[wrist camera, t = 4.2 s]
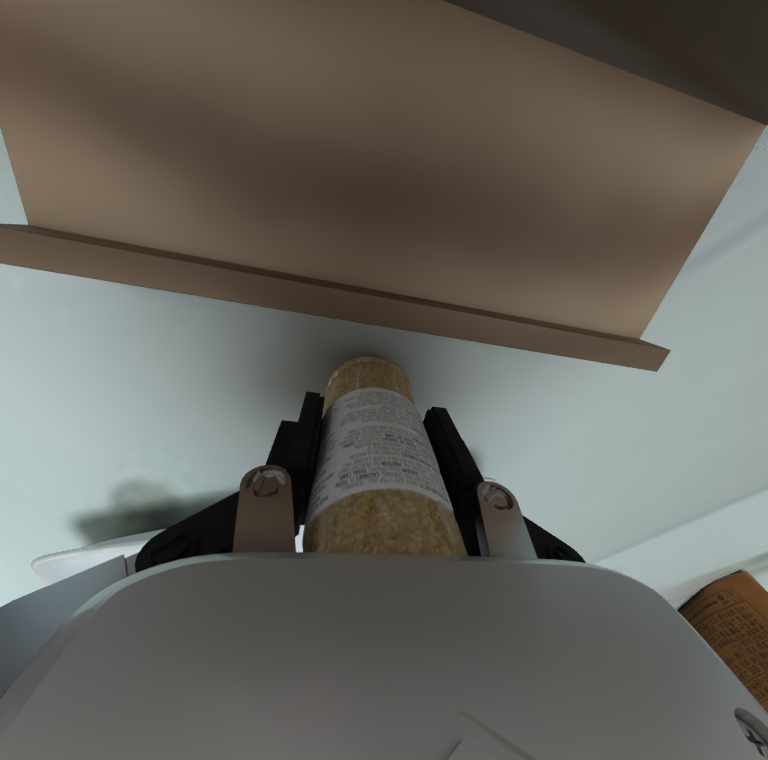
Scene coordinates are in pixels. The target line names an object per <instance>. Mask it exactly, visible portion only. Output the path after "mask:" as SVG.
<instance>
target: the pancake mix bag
mask: <svg viewBox="0 0 768 760" xmlns="http://www.w3.org/2000/svg"><path fill="white" fill-rule="evenodd" d="M678 612H679V613H680V614H681V615H682V616H683V617H684V618H685V619H686V620H687V621H688V623H689V624H690V625H691V626H692V627H693V628H694V629H695V630H696V631H697V632H698V633H699V635H700V636H701V637H702V638H703V639H704V640H705V641H706V642H707V643H708V645H709V646H710V647H711V648H712V649H713V650H714V651H715V652H716V654H717V655H718V656H719V657H720V658H721V659H722V660H723V662H724V663H725V664H726V665H727V666H728V667H729V669H730V670H731V671H732V672H733V673H734V674H735V676H736V677H737V678H738V679H739V680H740V681H741V683H742V684H743V685H744V686H745V687H746V688H747V690H748V691H749V692H750V693H751V694H752V696H753V697H754V698H755V699H756V700H757V701H758V703H759V704H760V705H761V706H762V707H763V708H764V710H765V711H766V712H767V713H768V592H767V591H766V590H765V589H764V588H763V587H762V586H761V585H760V584H759V583H758V582H757V581H756V580H755V579H754V578H753V577H752V576H751V575H750V574H749V573H748V572H747V571H742V572H739V573H735V574H731V575H728V576H726V577H723V578H720V579H718V580H716V581H714V582H712V583H711V584H709V585H707V586H705V587H704V588H703V589H702V590H701V591H700V592H699V593H698V594H696V595H695V596H694V597H693V598H692V599H691V600H690V601H689V602H688V603H687V604H686V605H685V606H683V607H682V608H681V609H680V610H679V611H678Z"/></svg>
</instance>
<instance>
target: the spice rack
mask: <svg viewBox="0 0 768 760" xmlns="http://www.w3.org/2000/svg"><path fill="white" fill-rule="evenodd" d="M766 125H768V0H0V127H1V131H2V134H3V137H4V141H5V144H6V148H7V151H8V155H9V158H10V162H11V165H12V169H13V172H14V176H15V179H16V183H17V186H18V189H19V193H20V196H21V200H22V203H23V207H24V210H25V214H26V217H27V221H28V224H29V225H18V224H0V263H1V264H7V265H13V266H19V267H25V268H31V269H37V270H43V271H50V272H56V273H62V274H68V275H74V276H80V277H86V278H92V279H98V280H104V281H110V282H116V283H122V284H128V285H134V286H140V287H147V288H153V289H159V290H165V291H171V292H177V293H183V294H189V295H195V296H201V297H207V298H213V299H219V300H225V301H231V302H238V303H244V304H250V305H256V306H262V307H268V308H274V309H280V310H286V311H292V312H298V313H304V314H310V315H316V316H322V317H328V318H335V319H341V320H347V321H353V322H359V323H365V324H371V325H377V326H383V327H389V328H395V329H401V330H407V331H413V332H419V333H426V334H432V335H438V336H444V337H450V338H456V339H462V340H468V341H474V342H480V343H486V344H492V345H498V346H504V347H510V348H516V349H523V350H529V351H535V352H541V353H547V354H553V355H559V356H565V357H571V358H577V359H583V360H589V361H595V362H601V363H607V364H614V365H620V366H626V367H632V368H638V369H644V370H650V371H656V372H657V371H658V369H659V368H660V366H661V365H662V363H663V362H664V360H665V359H666V357H667V356H668V354H669V352H670V351H671V350H668V349H665V348H663V347H660V346H657V345H654V344H651V343H649V342H646V341H643V340H640V337H641V335H642V334H643V332H644V330H645V329H646V327H647V325H648V324H649V322H650V320H651V319H652V317H653V315H654V314H655V312H656V310H657V309H658V307H659V305H660V304H661V302H662V300H663V298H664V297H665V295H666V293H667V292H668V290H669V288H670V287H671V285H672V283H673V282H674V280H675V278H676V277H677V275H678V273H679V272H680V270H681V268H682V266H683V265H684V263H685V261H686V260H687V258H688V256H689V255H690V253H691V251H692V250H693V248H694V246H695V245H696V243H697V241H698V240H699V238H700V236H701V234H702V233H703V231H704V229H705V228H706V226H707V224H708V223H709V221H710V219H711V218H712V216H713V214H714V213H715V211H716V209H717V208H718V206H719V204H720V203H721V201H722V199H723V197H724V196H725V194H726V192H727V191H728V189H729V187H730V186H731V184H732V182H733V181H734V179H735V177H736V176H737V174H738V172H739V171H740V169H741V167H742V165H743V164H744V162H745V160H746V159H747V157H748V155H749V154H750V152H751V150H752V149H753V147H754V145H755V144H756V142H757V140H758V139H759V137H760V135H761V134H762V132H763V130H764V128H765V127H766Z"/></svg>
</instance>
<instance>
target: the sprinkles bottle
mask: <svg viewBox="0 0 768 760" xmlns="http://www.w3.org/2000/svg"><path fill="white" fill-rule="evenodd" d="M325 404H326V406H325V414H324V417H323V419H322V422H321V428H320V434H319V441H318V447H317V453H316V460H315V466H314V472H313V479H312V485H311V491H310V495H309V500H308V507H307V513H306V519H305V525H304V532H303V538H302V548H303V552H310V553H362V554H406V555H445V556H468V554H467V551H466V549H465V545H464V542H463V539H462V536H461V533H460V531H459V527H458V524H457V522H456V520H455V517H454V513H453V508H452V505H451V502H450V499H449V496H448V493H447V491H446V488H445V485H444V482H443V479H442V477H441V474H440V469H439V465H438V462H437V460H436V457H435V454H434V451H433V448H432V446H431V443H430V440H429V438H428V435H427V432H426V430H425V427H424V424H423V422H422V419H421V416H420V414H419V412H418V410H417V409H416V407H415V405H414V402H413V399H412V396H411V388H410V384H409V381H408V379H407V377H406V375H405V374H404V373H403V371H402V370H401V369H400V368H399V367H398V366H397V365H396V364H395V363H393V362H391V361H388V360H386V359H383V358H379V357H375V356H360V357H358V358H354V359H351V360H349V361H348V362H346V363H343V364H342V365H341V366H340V367H338V368H337V369H336V370H335V371H334V372H333V373H332V375H331V377H330V379H329V380H328V383H327V387H326V389H325Z"/></svg>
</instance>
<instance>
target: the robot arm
mask: <svg viewBox="0 0 768 760" xmlns="http://www.w3.org/2000/svg"><path fill="white" fill-rule="evenodd" d="M324 398H325V397H320V393H315V392H306V395H305V399H304V403H303V406H302V410H301V413H300V417H299V420H298V422H293V421H283V420H282V422H281V424H280V427H279V429H278V432H277V435H276V438H275V440H274V443H273V446H272V449H271V451H270V454H269V457H268V459H267V462H266V465H264V466H259V467H257V468H254V469H252V470H251V471H249V472H248V473H246V475H245V476H244V477H243V478H242V481H241V484H240V491H238V492H236V493H234V494H233V495H231V496H229V497H227V498H225V499H223V500H221V501H219V502H217V503H215V504H214V505H212V506H210V507H208V508H206V509H204V510H202V511H200V512H198V513H196V514H194V515H193V516H191V517H189V518H187V519H185V520H183V521H181V522H179V523H177V524H175V525H173V526H172V527H170V528H168V529H166V530H164V531H162V532H160V533H159V534H157V535H156V536H154V537H153V538H151V539H150V540H149V541H148V542H147V543H146V544H145V545H144V546H143V547H142V549H141V550H140V552H138V553H136V554H134V555H131V556H129V557H127V558H125V556H124V554H123V555H120V556H118V557H116V558H113V559H111V560H108V561H106V562H104V563H101V564H99V565H96V566H94V567H92V568H89V569H87V570H85V571H82V572H80V573H77V574H75V575H73V576H70V577H68V578H66V579H63V580H61V581H58V582H56V583H54V584H51V585H49V586H47V587H44V588H42V589H39V590H37V591H35V592H32V593H30V594H28V595H25V596H23V597H20V598H18V599H16V600H13V601H11V602H10V603H8V604H6V605H4V606H2V607H0V760H768V713H767V712H766V711H765V710H764V708H763V707H762V706H761V705H760V704H759V703H758V701H757V700H756V699H755V698H754V697H753V696H752V694H751V693H750V692H749V691H748V690H747V688H746V687H745V686H744V685H743V684H742V683H741V681H740V680H739V679H738V678H737V677H736V676H735V674H734V673H733V672H732V671H731V670H730V669H729V667H728V666H727V665H726V664H725V663H724V662H723V660H722V659H721V658H720V657H719V656H718V655H717V654H716V652H715V651H714V650H713V649H712V648H711V647H710V646H709V645H708V643H707V642H706V641H705V640H704V639H703V638H702V637H701V636H700V635H699V633H698V632H697V631H696V630H695V629H694V628H693V627H692V626H691V625H690V624H689V623H688V621H687V620H686V619H685V618H684V617H683V616H682V615H681V614H680V613H679V612H678V611H677V610H676V609H675V608H674V607H673V606H672V605H671V604H670V603H669V602H668V601H667V600H666V599H665V598H663V597H662V596H661V595H660V594H659V593H657V592H656V591H655V590H653V589H652V588H650V587H648V586H647V585H645V584H643V583H641V582H639V581H637V580H635V579H633V578H631V577H629V576H627V575H624V574H622V573H619V572H617V571H614V570H611V569H607V568H604V567H600V566H597V565H593V564H587V563H586V562H585V561H584V559H583V558H582V557H581V556H580V555H579V554H578V553H577V552H576V551H575V550H574V549H573V548H571V547H570V546H569V545H567V544H566V543H564V542H562V541H561V540H559V539H558V538H556V537H555V536H553V535H552V534H550V533H549V532H547V531H546V530H544V529H543V528H541V527H540V526H538V525H536V524H535V523H533V522H532V521H530V520H529V519H527V518H526V517H524V516H523V515H522V513H521V511H520V508H519V505H518V502H517V500H516V498H515V497H514V495H513V494H512V493H511V492H510V491H509V490H508V489H506V488H505V487H503V486H502V485H500V484H498V483H495V482H490V481H484V479H483V477H482V475H481V473H480V471H479V469H478V468H477V466H476V464H475V462H474V460H473V458H472V456H471V454H470V452H469V450H468V448H467V446H466V445H465V443H464V441H463V440H462V439H461V437H460V435H459V433H458V431H457V429H456V427H455V425H454V423H453V421H452V419H451V418H450V416H449V414H448V412H447V410H446V408H440V407H432V408H431V410H430V409H428V410H427V412H426V415H425V418H424V421H423V424H424V427H425V430H426V432H427V435H428V438H429V440H430V443H431V446H432V448H433V451H434V454H435V457H436V460H437V462H438V465H439V469H440V474H441V477H442V479H443V482H444V485H445V488H446V491H447V493H448V496H449V499H450V502H451V505H452V508H453V513H454V517H455V520H456V522H457V524H458V527H459V531H460V533H461V536H462V539H463V542H464V545H465V549H466V551H467V554H468V556H445V555H406V554H362V553H310V552H296V544H295V537H296V536H297V535H299V531H300V525H305V519H306V513H307V507H308V500H309V495H310V491H311V485H312V479H313V472H314V466H315V460H316V453H317V447H318V441H319V434H320V428H321V422H322V414H323V406H324Z"/></svg>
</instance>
